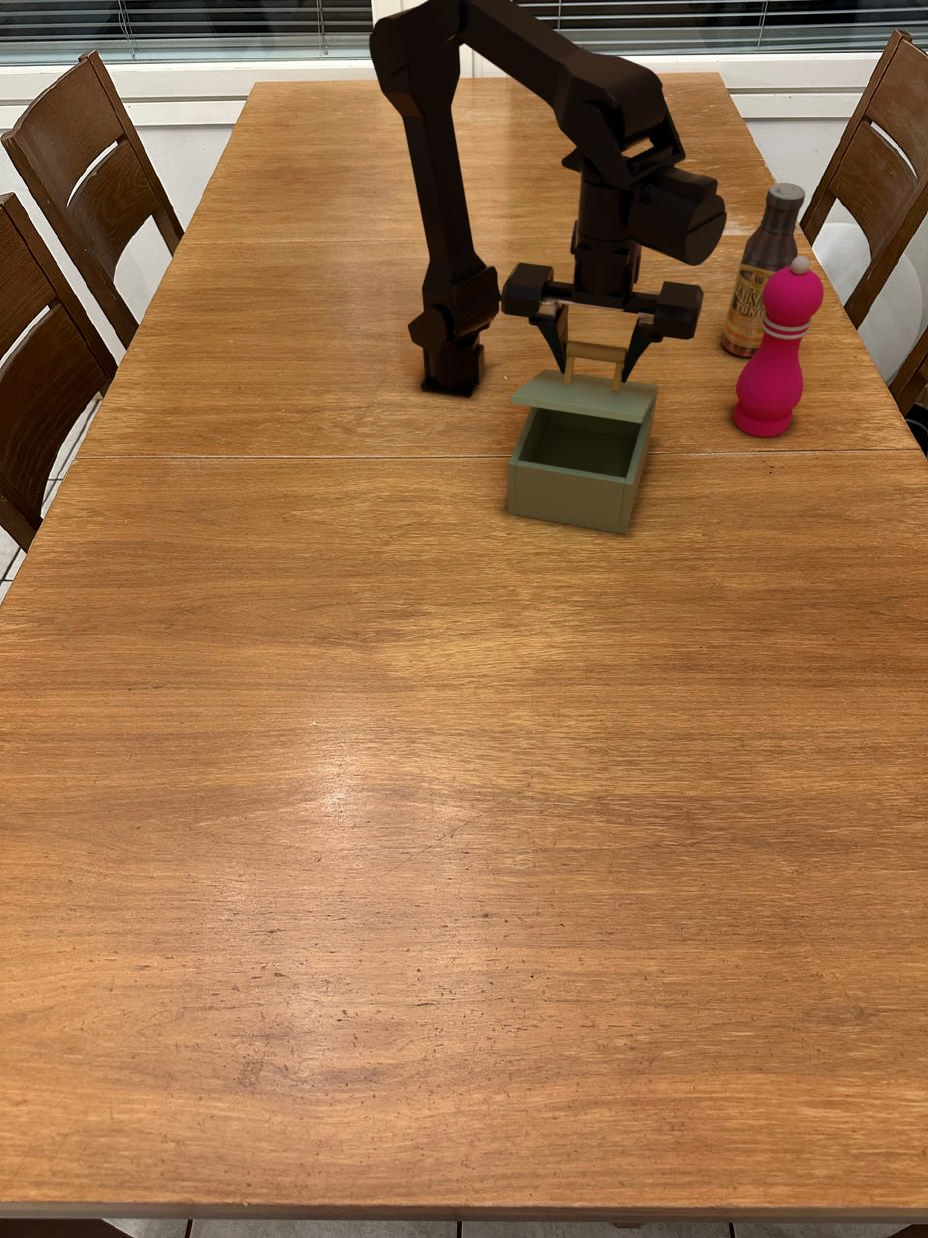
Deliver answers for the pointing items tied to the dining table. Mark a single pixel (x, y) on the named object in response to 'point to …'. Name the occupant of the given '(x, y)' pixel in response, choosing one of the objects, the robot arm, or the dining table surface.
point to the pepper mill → (778, 351)
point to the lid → (589, 387)
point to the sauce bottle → (762, 268)
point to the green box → (578, 468)
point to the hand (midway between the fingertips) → (594, 376)
